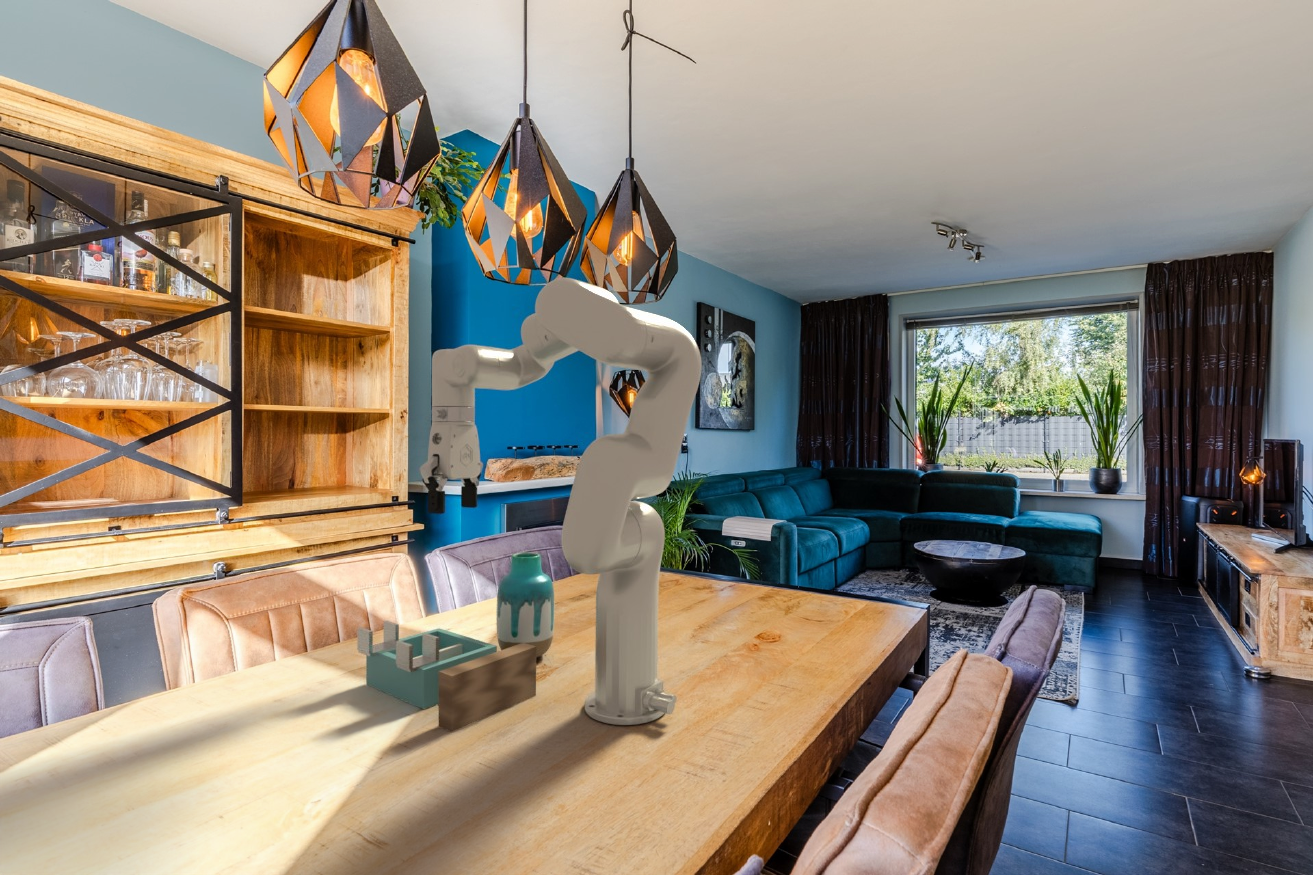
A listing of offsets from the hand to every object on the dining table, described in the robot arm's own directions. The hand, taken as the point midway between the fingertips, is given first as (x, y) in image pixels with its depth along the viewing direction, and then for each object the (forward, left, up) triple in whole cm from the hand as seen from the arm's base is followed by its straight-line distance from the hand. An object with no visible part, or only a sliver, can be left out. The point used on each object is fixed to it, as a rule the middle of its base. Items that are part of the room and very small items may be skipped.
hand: (453, 510), depth 121 cm
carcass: (-7, +9, -28) cm, 30 cm away
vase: (-10, -9, -28) cm, 31 cm away
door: (-23, +10, -28) cm, 37 cm away
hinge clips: (-7, +16, -21) cm, 27 cm away
